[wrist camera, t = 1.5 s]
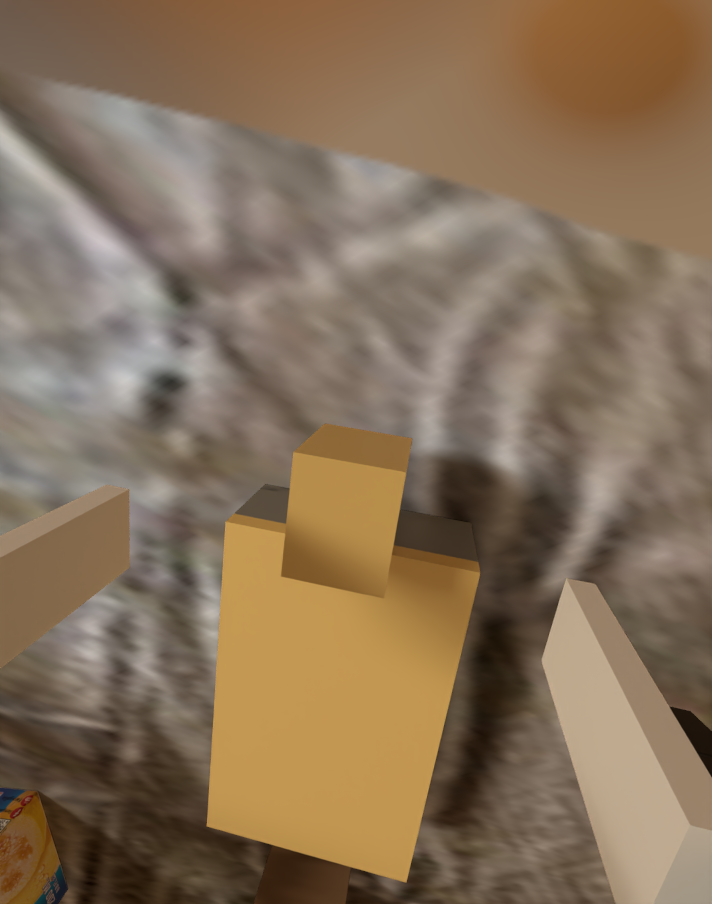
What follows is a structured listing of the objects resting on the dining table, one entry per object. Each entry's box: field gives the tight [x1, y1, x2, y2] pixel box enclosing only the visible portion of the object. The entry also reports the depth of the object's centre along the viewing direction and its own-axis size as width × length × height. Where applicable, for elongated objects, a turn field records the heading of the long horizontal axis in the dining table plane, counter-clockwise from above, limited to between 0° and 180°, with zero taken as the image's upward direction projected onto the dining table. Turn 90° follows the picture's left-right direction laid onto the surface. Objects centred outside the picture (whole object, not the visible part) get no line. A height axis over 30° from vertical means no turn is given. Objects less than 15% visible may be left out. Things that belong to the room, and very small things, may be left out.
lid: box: [207, 424, 480, 882], centre depth 22 cm, size 12×25×5 cm, turn 172°
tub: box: [234, 484, 478, 562], centre depth 27 cm, size 12×20×4 cm, turn 172°
